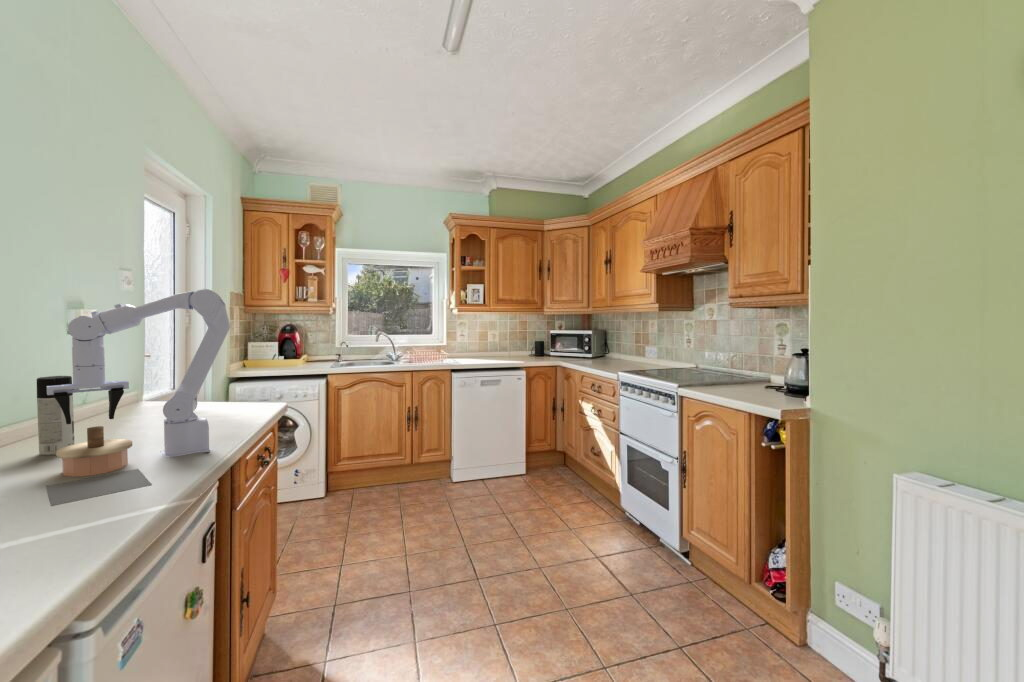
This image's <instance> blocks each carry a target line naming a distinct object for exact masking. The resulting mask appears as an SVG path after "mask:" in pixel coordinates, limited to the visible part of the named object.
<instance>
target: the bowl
mask: <svg viewBox="0 0 1024 682" xmlns="http://www.w3.org/2000/svg"><path fill="white" fill-rule="evenodd" d="M128 459H129V457H128V449H126V450H123V451H120V452H116V453H112V454H107V455H101V456H94V457H86V458H61V465H62V466H61V467H62V468H61V469H62V471H61V472H62V475H63V477H64V476H66V477H74V478H75V477H87V476H95V475H100V474H101V475H102V474H106V473H110V472H113V471H118V470H120V469H122V468H124V467H126V466H127V465H128V464H129V463H128V462H129V461H128Z"/></svg>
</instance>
